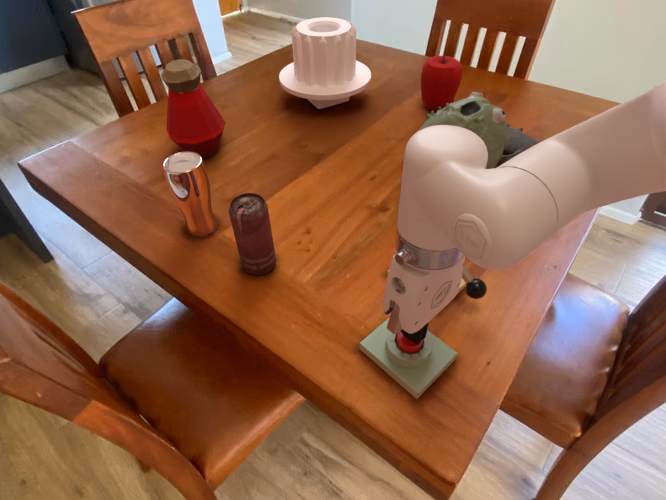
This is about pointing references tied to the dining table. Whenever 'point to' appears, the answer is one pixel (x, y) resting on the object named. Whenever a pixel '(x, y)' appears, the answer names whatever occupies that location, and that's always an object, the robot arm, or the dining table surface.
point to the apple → (440, 81)
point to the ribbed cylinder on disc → (324, 63)
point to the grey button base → (408, 359)
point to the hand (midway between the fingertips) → (412, 335)
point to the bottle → (191, 110)
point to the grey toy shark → (515, 144)
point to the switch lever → (473, 285)
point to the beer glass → (191, 191)
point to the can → (253, 233)
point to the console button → (407, 344)
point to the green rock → (475, 122)
